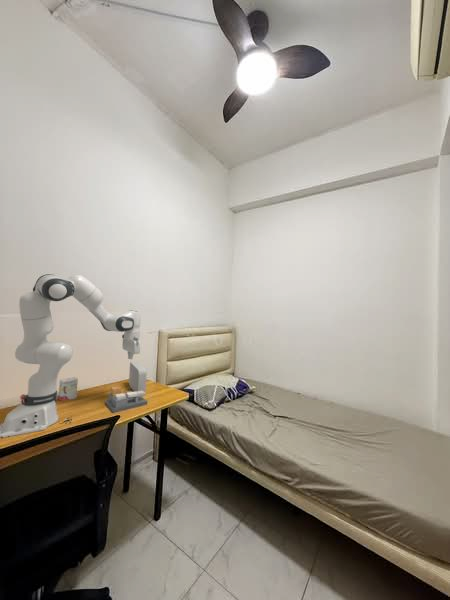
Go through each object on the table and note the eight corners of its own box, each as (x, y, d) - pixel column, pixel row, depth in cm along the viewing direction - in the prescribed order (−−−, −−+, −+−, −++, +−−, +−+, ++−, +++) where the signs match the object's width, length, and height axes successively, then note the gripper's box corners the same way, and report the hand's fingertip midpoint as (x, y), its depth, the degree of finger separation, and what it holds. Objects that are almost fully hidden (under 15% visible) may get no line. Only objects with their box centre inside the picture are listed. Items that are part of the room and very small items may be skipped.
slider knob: (127, 398, 143) (127, 393, 143) (125, 396, 145) (125, 391, 145) (132, 396, 145) (132, 391, 145) (130, 395, 147) (130, 390, 147)
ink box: (60, 401, 139) (61, 381, 139) (58, 399, 142) (59, 379, 142) (76, 398, 145) (78, 378, 145) (74, 395, 148) (75, 376, 149)
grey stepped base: (113, 413, 127) (114, 402, 128) (105, 403, 138) (105, 393, 139) (147, 404, 140) (147, 394, 140) (137, 396, 151) (137, 387, 151)
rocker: (128, 397, 135) (128, 394, 135) (125, 395, 138) (126, 392, 138) (144, 395, 142) (145, 392, 142) (142, 393, 145) (142, 390, 145)
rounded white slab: (148, 395, 155) (150, 369, 155) (137, 396, 151) (138, 370, 151) (138, 383, 177) (139, 360, 177) (128, 384, 173) (130, 361, 173)
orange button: (112, 398, 136) (113, 389, 136) (110, 395, 139) (111, 387, 139) (120, 396, 139) (121, 387, 139) (118, 394, 142) (118, 385, 142)
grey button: (117, 406, 130) (117, 397, 130) (114, 403, 134) (114, 394, 134) (125, 404, 133) (125, 395, 133) (122, 401, 137) (122, 393, 137)
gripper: (143, 338, 141) (142, 361, 140) (131, 334, 156) (129, 355, 155) (133, 338, 137) (131, 362, 136) (121, 335, 152) (119, 356, 151)
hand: (130, 359), depth 146 cm, fingers closed
